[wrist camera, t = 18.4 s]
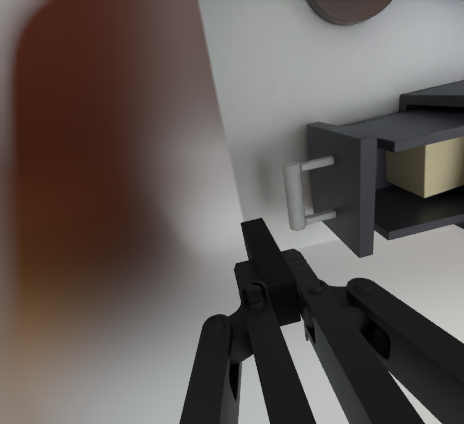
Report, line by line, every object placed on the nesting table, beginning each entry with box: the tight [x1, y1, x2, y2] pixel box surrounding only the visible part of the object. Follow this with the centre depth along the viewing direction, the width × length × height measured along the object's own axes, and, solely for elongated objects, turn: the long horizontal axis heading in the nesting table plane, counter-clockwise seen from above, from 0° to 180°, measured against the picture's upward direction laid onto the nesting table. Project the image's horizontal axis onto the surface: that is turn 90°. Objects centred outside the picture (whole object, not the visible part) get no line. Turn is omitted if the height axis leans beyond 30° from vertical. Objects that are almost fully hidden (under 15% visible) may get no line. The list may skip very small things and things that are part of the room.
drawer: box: [283, 106, 464, 258], centre depth 23 cm, size 19×10×9 cm, turn 102°
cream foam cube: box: [386, 136, 464, 198], centre depth 24 cm, size 5×5×5 cm
